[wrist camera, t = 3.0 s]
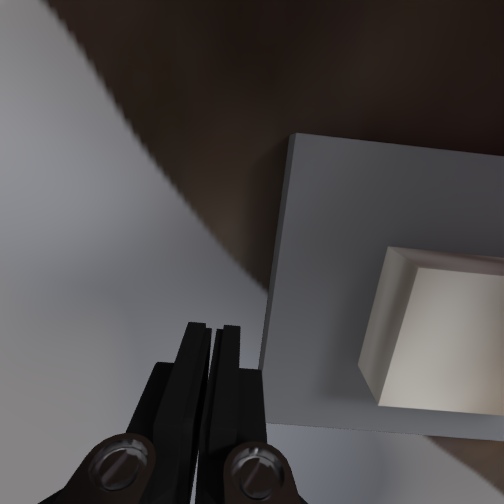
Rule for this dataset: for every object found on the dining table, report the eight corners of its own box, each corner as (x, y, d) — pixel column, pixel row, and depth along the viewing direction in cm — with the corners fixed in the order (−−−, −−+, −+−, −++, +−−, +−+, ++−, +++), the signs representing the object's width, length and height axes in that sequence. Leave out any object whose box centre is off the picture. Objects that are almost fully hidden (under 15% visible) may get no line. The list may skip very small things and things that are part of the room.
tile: (357, 364, 15) (378, 405, 13) (387, 246, 13) (418, 267, 11) (536, 379, 15) (589, 422, 13) (591, 266, 13) (664, 291, 11)
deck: (289, 134, 14) (296, 132, 12) (637, 174, 14) (696, 178, 12) (254, 393, 18) (255, 422, 16) (521, 414, 19) (552, 444, 17)
